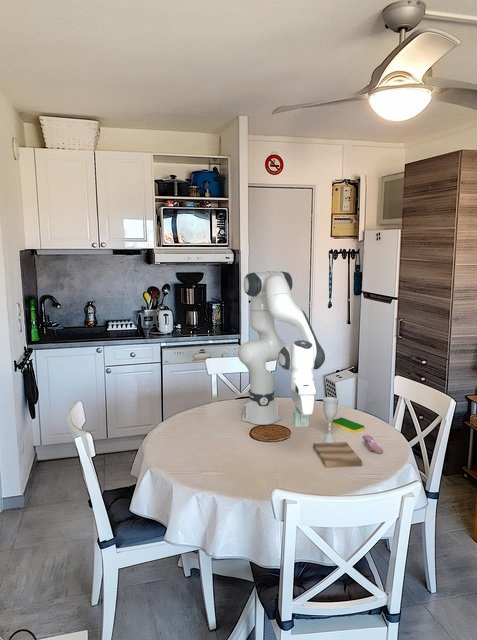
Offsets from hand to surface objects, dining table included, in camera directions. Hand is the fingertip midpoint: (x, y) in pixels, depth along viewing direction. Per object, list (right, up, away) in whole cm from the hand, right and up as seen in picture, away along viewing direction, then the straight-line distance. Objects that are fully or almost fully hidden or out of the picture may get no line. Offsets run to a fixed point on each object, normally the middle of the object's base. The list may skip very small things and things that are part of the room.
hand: (300, 418), depth 185 cm
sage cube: (0, -2, 0) cm, 2 cm away
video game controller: (+31, -15, +12) cm, 36 cm away
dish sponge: (+26, -12, +36) cm, 46 cm away
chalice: (+15, -14, +21) cm, 29 cm away
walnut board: (+15, -16, +5) cm, 22 cm away
